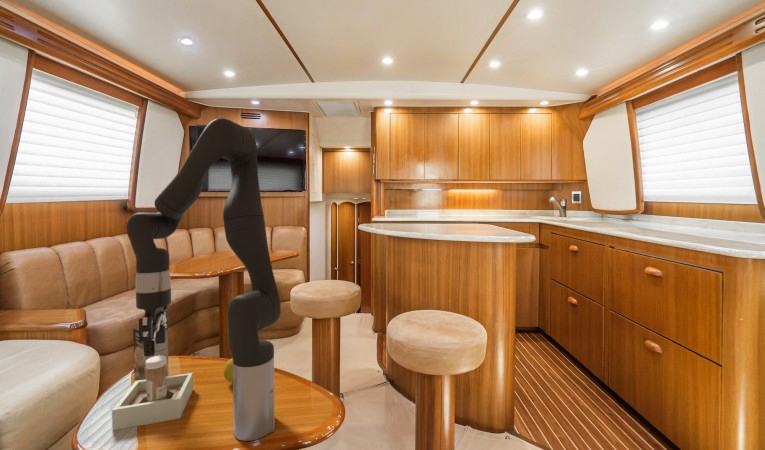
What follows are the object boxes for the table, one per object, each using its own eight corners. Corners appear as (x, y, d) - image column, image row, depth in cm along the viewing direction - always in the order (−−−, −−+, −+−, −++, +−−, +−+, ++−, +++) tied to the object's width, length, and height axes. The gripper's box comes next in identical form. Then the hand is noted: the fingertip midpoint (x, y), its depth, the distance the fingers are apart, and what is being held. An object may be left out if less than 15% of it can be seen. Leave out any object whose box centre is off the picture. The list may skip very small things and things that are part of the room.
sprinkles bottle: (167, 409, 84) (166, 359, 83) (145, 415, 81) (144, 364, 81) (167, 401, 87) (166, 353, 87) (147, 406, 85) (146, 357, 85)
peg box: (193, 389, 93) (192, 372, 93) (180, 418, 80) (179, 399, 80) (136, 398, 89) (135, 380, 88) (112, 430, 75) (112, 410, 75)
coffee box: (133, 377, 100) (131, 327, 99) (155, 369, 105) (155, 321, 105) (146, 386, 95) (145, 333, 94) (170, 376, 100) (169, 327, 100)
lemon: (247, 381, 98) (247, 356, 98) (230, 389, 93) (230, 363, 93) (236, 376, 101) (236, 351, 100) (220, 384, 96) (219, 358, 96)
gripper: (161, 293, 78) (163, 358, 78) (177, 281, 91) (179, 337, 92) (124, 295, 75) (126, 363, 76) (146, 284, 89) (148, 341, 89)
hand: (155, 349), depth 84 cm, fingers open, 8 cm apart
